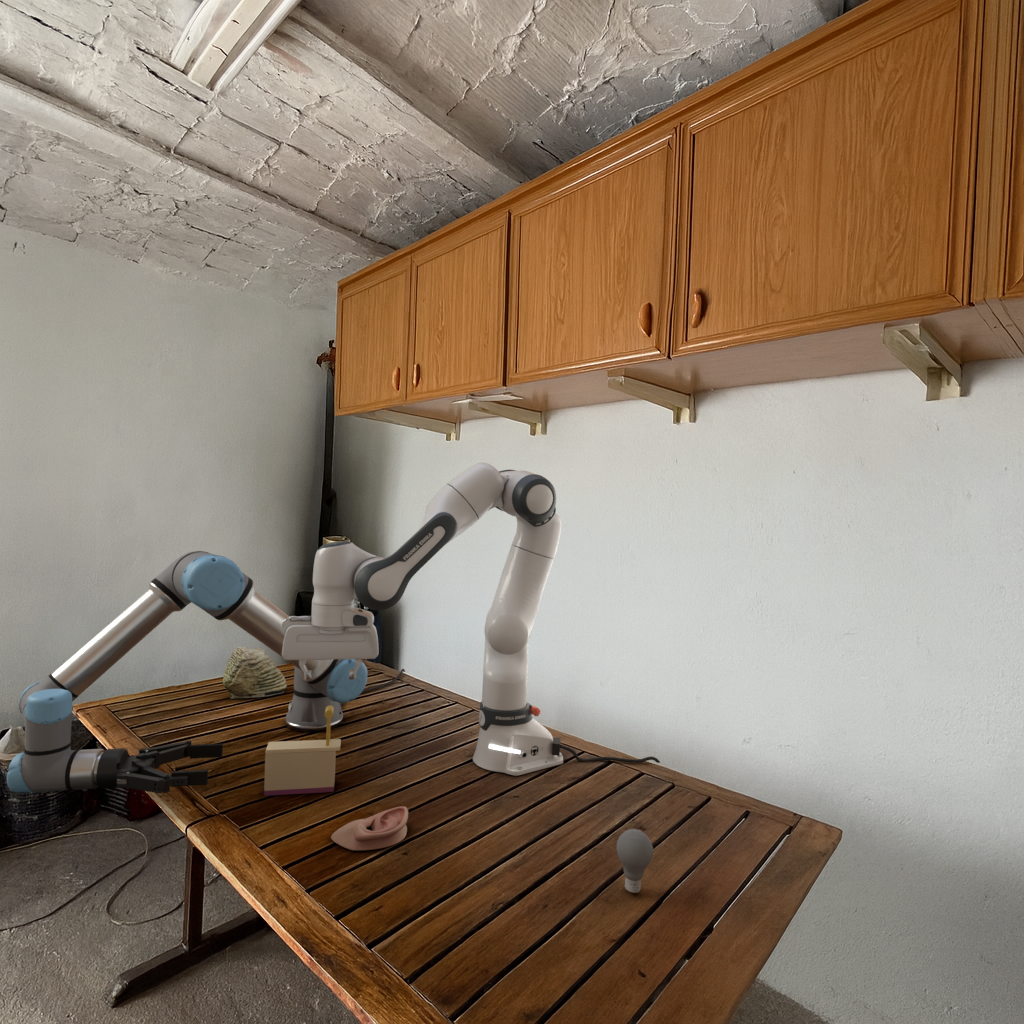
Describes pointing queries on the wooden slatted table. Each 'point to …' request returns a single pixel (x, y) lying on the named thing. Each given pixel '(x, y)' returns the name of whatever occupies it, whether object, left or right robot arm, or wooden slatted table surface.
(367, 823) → the anatomical model
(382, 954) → the wooden slatted table surface
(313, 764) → the purple-based tan box
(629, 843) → the light bulb
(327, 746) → the lid
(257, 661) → the fossil
